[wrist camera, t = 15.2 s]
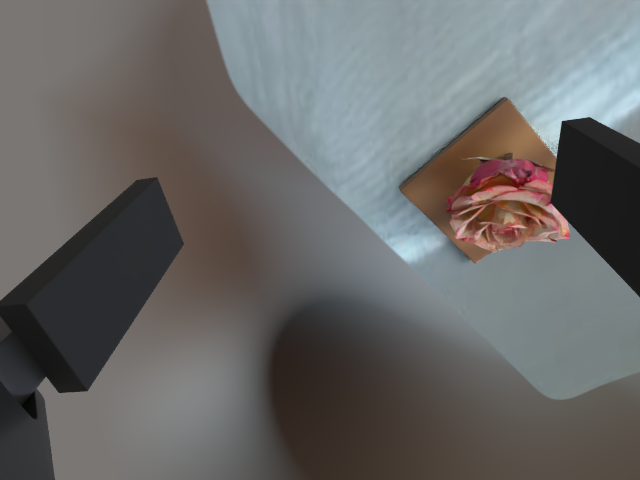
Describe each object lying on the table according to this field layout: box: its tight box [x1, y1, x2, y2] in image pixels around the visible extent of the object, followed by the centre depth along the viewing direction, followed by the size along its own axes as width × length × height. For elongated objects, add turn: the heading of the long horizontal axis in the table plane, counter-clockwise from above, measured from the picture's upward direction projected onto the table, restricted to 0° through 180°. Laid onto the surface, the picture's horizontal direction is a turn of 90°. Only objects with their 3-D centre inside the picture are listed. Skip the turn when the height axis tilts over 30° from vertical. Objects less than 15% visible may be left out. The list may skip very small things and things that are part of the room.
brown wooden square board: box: [400, 97, 557, 263], centre depth 36 cm, size 11×11×1 cm
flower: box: [445, 153, 570, 252], centre depth 32 cm, size 10×9×8 cm
